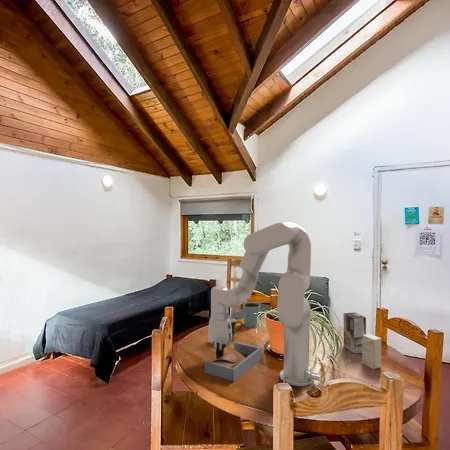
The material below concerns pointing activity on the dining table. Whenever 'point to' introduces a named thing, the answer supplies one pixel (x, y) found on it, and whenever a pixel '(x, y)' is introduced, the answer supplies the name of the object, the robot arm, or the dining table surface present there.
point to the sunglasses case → (230, 359)
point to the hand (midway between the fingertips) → (219, 357)
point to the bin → (238, 370)
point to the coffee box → (354, 331)
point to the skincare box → (371, 351)
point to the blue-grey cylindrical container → (251, 314)
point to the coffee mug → (234, 326)
